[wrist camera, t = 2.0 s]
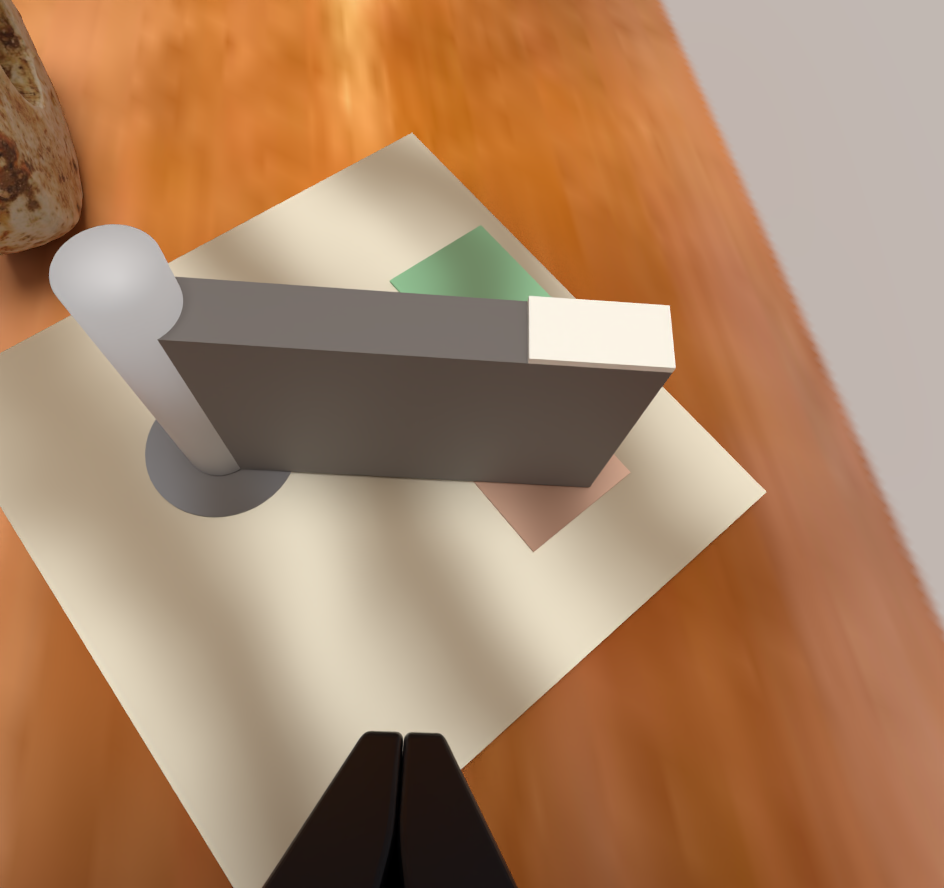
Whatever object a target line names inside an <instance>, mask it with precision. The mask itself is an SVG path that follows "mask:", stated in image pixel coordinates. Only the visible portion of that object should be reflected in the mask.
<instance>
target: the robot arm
mask: <svg viewBox="0 0 944 888" xmlns="http://www.w3.org/2000/svg"><path fill="white" fill-rule="evenodd" d="M262 888H518V887H517V885H516V883H515V881H514V879H513V877H512V875H511V872H510V870H509V868H508V866H507V864H506V862H505V860H504V858H503V856H502V854H501V852H500V850H499V848H498V846H497V843H496V841H495V839H494V837H493V835H492V833H491V831H490V829H489V827H488V825H487V823H486V821H485V819H484V817H483V815H482V812H481V810H480V808H479V806H478V804H477V802H476V800H475V798H474V796H473V794H472V792H471V790H470V788H469V786H468V784H467V781H466V779H465V777H464V775H463V773H462V771H461V769H460V767H459V765H458V763H457V761H456V759H455V757H454V755H453V753H452V750H451V748H450V746H449V744H448V742H447V740H446V739H445V737H444V736H443V735H442V734H440V733H423V732H409V733H407V734H406V735H405V737H404V742H403V736H402V734H401V733H399V732H390V731H367V732H365V733H364V734H363V735H362V736H361V737H360V738H359V740H358V741H357V743H356V745H355V746H354V748H353V749H352V751H351V752H350V754H349V755H348V757H347V758H346V760H345V761H344V763H343V764H342V766H341V767H340V769H339V770H338V772H337V773H336V775H335V777H334V778H333V780H332V781H331V783H330V784H329V786H328V787H327V789H326V790H325V792H324V793H323V795H322V796H321V798H320V799H319V801H318V802H317V804H316V806H315V807H314V809H313V810H312V812H311V813H310V815H309V816H308V818H307V819H306V821H305V822H304V824H303V825H302V827H301V828H300V830H299V831H298V833H297V834H296V836H295V838H294V839H293V841H292V842H291V844H290V845H289V847H288V848H287V850H286V851H285V853H284V854H283V856H282V857H281V859H280V860H279V862H278V863H277V865H276V866H275V868H274V870H273V871H272V873H271V874H270V876H269V877H268V879H267V880H266V882H265V883H264V885H263V886H262Z"/></svg>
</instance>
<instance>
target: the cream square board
mask: <svg viewBox="0 0 944 888" xmlns="http://www.w3.org/2000/svg"><path fill="white" fill-rule="evenodd" d="M168 265H169V267H170V268H171V270H172V272H173V274H174V276H175V277H188V278H202V279H217V280H231V281H245V282H259V283H274V284H288V285H302V286H317V287H331V288H345V289H359V290H374V291H388V292H402V293H417V294H431V295H445V296H459V297H474V298H488V299H502V300H517V301H528V298H529V296H539V297H554V298H568V299H576V298H575V297H574V296H573V295H572V294H571V293H570V292H569V291H568V290H567V289H566V288H565V287H564V286H563V285H562V284H561V283H560V282H559V281H558V280H557V279H556V278H555V277H554V276H553V275H552V274H551V273H550V272H549V271H548V270H547V269H546V268H545V267H544V266H543V265H542V264H541V263H540V262H539V261H538V260H537V259H536V258H535V257H534V256H533V255H532V254H531V253H530V252H529V251H528V250H527V249H526V248H525V247H524V246H523V245H522V244H521V243H520V242H519V241H518V240H517V239H516V238H515V237H514V236H513V235H512V234H511V233H510V232H509V231H508V230H507V229H506V228H505V227H504V226H503V225H502V224H501V222H500V221H499V220H498V219H497V218H496V217H495V216H494V215H493V214H492V213H491V212H490V211H489V210H488V209H487V208H486V207H485V206H484V205H483V204H482V203H481V202H480V201H479V200H478V199H477V198H476V197H475V196H474V195H473V194H472V193H471V192H470V191H469V190H468V189H467V188H466V187H465V186H464V185H463V184H462V183H461V182H460V181H459V180H458V179H457V178H456V177H455V176H454V175H453V174H452V173H451V172H450V171H449V170H448V169H447V168H446V167H445V166H444V165H443V164H442V163H441V162H440V161H439V160H438V159H437V158H436V157H435V156H434V155H433V154H432V153H431V152H430V151H429V150H428V149H427V148H426V146H425V145H424V144H423V143H422V142H421V141H420V140H419V139H418V138H417V137H416V136H415V135H414V134H413V133H411V134H409V135H407V136H405V137H403V138H401V139H399V140H398V141H396V142H394V143H392V144H390V145H388V146H386V147H385V148H383V149H381V150H379V151H377V152H375V153H373V154H371V155H370V156H368V157H366V158H364V159H362V160H360V161H358V162H357V163H355V164H353V165H351V166H349V167H347V168H345V169H343V170H342V171H340V172H338V173H336V174H334V175H332V176H330V177H328V178H327V179H325V180H323V181H321V182H319V183H317V184H315V185H314V186H312V187H310V188H308V189H306V190H304V191H302V192H300V193H299V194H297V195H295V196H293V197H291V198H289V199H287V200H286V201H284V202H282V203H280V204H278V205H276V206H274V207H272V208H271V209H269V210H267V211H265V212H263V213H261V214H259V215H257V216H256V217H254V218H252V219H250V220H248V221H246V222H244V223H243V224H241V225H239V226H237V227H235V228H233V229H231V230H229V231H228V232H226V233H224V234H222V235H220V236H218V237H216V238H215V239H213V240H211V241H209V242H207V243H205V244H203V245H201V246H200V247H198V248H196V249H194V250H192V251H190V252H188V253H186V254H185V255H183V256H181V257H179V258H177V259H175V260H173V261H172V262H170V263H168ZM765 493H766V491H765V490H764V489H763V488H762V487H761V486H760V485H759V484H758V483H757V482H756V481H755V480H754V479H753V478H752V477H751V476H750V475H749V474H748V473H747V472H746V471H745V470H744V469H743V468H742V467H741V466H740V465H739V464H738V463H737V462H736V461H735V460H734V459H733V458H732V457H731V456H730V455H729V454H728V453H727V452H726V451H725V449H724V448H723V447H722V446H721V445H720V444H719V443H718V442H717V441H716V440H715V439H714V438H713V437H712V436H711V435H710V434H709V433H708V432H707V431H706V430H705V429H704V428H703V427H702V426H701V425H700V424H699V423H698V422H697V421H696V420H695V419H694V418H693V417H692V416H691V415H690V414H689V413H688V412H687V411H686V410H685V409H684V408H683V407H682V406H681V405H680V404H679V403H678V402H677V401H676V400H675V399H674V398H673V397H672V396H671V395H670V394H669V393H668V392H667V391H666V390H665V389H664V388H663V387H662V388H661V389H660V390H659V392H658V393H657V395H656V396H655V397H654V399H653V400H652V402H651V403H650V404H649V406H648V407H647V409H646V410H645V411H644V413H643V414H642V415H641V417H640V418H639V420H638V421H637V422H636V424H635V425H634V427H633V428H632V429H631V431H630V432H629V434H628V435H627V436H626V438H625V439H624V440H623V442H622V443H621V445H620V446H619V447H618V449H617V450H616V452H615V453H614V454H613V456H612V457H611V458H610V460H609V461H608V463H607V464H606V465H605V467H604V468H603V470H602V471H601V472H600V474H599V475H598V477H597V478H596V479H595V481H594V482H593V483H592V485H591V486H590V487H574V486H556V485H537V484H518V483H499V482H480V481H462V480H443V479H424V478H405V477H387V476H368V475H349V474H330V473H311V472H293V471H274V470H255V469H239V470H238V471H236V472H233V473H231V474H227V475H221V476H216V475H209V474H206V473H203V472H201V471H200V470H198V469H197V468H196V467H195V466H194V465H193V464H192V463H191V462H190V461H189V459H188V458H187V457H186V456H185V454H184V453H183V452H182V451H181V449H180V448H179V447H178V446H177V445H176V443H175V442H174V441H173V440H172V438H171V437H170V436H169V435H168V433H167V432H166V431H165V430H164V428H163V427H162V426H161V425H160V424H159V422H158V421H157V420H156V419H155V417H154V416H153V415H152V414H151V412H150V411H149V410H148V409H147V408H146V406H145V405H144V404H143V403H142V401H141V400H140V399H139V398H138V396H137V395H136V394H135V393H134V391H133V390H132V389H131V388H130V387H129V385H128V384H127V383H126V382H125V380H124V379H123V378H122V377H121V375H120V374H119V373H118V372H117V371H116V369H115V368H114V367H113V366H112V364H111V363H110V362H109V361H108V359H107V358H106V357H105V356H104V355H103V353H102V352H101V351H100V350H99V348H98V347H97V346H96V345H95V343H94V342H93V341H92V340H91V338H90V337H89V336H88V335H87V334H86V332H85V331H84V330H83V329H82V327H81V326H80V325H79V324H78V322H77V321H76V320H75V319H74V318H73V316H72V315H71V316H69V317H67V318H65V319H63V320H61V321H59V322H58V323H56V324H54V325H52V326H50V327H48V328H46V329H44V330H43V331H41V332H39V333H37V334H35V335H33V336H31V337H30V338H28V339H26V340H24V341H22V342H20V343H18V344H16V345H15V346H13V347H11V348H9V349H7V350H5V351H3V352H1V353H0V507H1V508H2V510H3V512H4V513H5V515H6V517H7V518H8V520H9V521H10V523H11V525H12V526H13V528H14V530H15V531H16V533H17V535H18V536H19V538H20V539H21V541H22V543H23V544H24V546H25V548H26V549H27V551H28V552H29V554H30V556H31V557H32V559H33V561H34V562H35V564H36V566H37V567H38V569H39V570H40V572H41V574H42V575H43V577H44V579H45V580H46V582H47V584H48V585H49V587H50V588H51V590H52V592H53V593H54V595H55V597H56V598H57V600H58V602H59V603H60V605H61V606H62V608H63V610H64V611H65V613H66V615H67V616H68V618H69V620H70V621H71V623H72V624H73V626H74V628H75V629H76V631H77V633H78V634H79V636H80V638H81V639H82V641H83V642H84V644H85V646H86V647H87V649H88V651H89V652H90V654H91V655H92V657H93V659H94V660H95V662H96V664H97V665H98V667H99V669H100V670H101V672H102V673H103V675H104V677H105V678H106V680H107V682H108V683H109V685H110V687H111V688H112V690H113V691H114V693H115V695H116V696H117V698H118V700H119V701H120V703H121V705H122V706H123V708H124V709H125V711H126V713H127V714H128V716H129V718H130V719H131V721H132V723H133V724H134V726H135V727H136V729H137V731H138V732H139V734H140V736H141V737H142V739H143V741H144V742H145V744H146V745H147V747H148V749H149V750H150V752H151V754H152V755H153V757H154V758H155V760H156V762H157V763H158V765H159V767H160V768H161V770H162V772H163V773H164V775H165V776H166V778H167V780H168V781H169V783H170V785H171V786H172V788H173V790H174V791H175V793H176V794H177V796H178V798H179V799H180V801H181V803H182V804H183V806H184V808H185V809H186V811H187V812H188V814H189V816H190V817H191V819H192V821H193V822H194V824H195V826H196V827H197V829H198V830H199V832H200V834H201V835H202V837H203V839H204V840H205V842H206V844H207V845H208V847H209V848H210V850H211V852H212V853H213V855H214V857H215V858H216V860H217V861H218V863H219V865H220V866H221V868H222V870H223V871H224V873H225V875H226V876H227V878H228V879H229V881H230V883H231V884H232V886H233V888H262V886H263V885H264V883H265V882H266V880H267V879H268V877H269V876H270V874H271V873H272V871H273V870H274V868H275V866H276V865H277V863H278V862H279V860H280V859H281V857H282V856H283V854H284V853H285V851H286V850H287V848H288V847H289V845H290V844H291V842H292V841H293V839H294V838H295V836H296V834H297V833H298V831H299V830H300V828H301V827H302V825H303V824H304V822H305V821H306V819H307V818H308V816H309V815H310V813H311V812H312V810H313V809H314V807H315V806H316V804H317V802H318V801H319V799H320V798H321V796H322V795H323V793H324V792H325V790H326V789H327V787H328V786H329V784H330V783H331V781H332V780H333V778H334V777H335V775H336V773H337V772H338V770H339V769H340V767H341V766H342V764H343V763H344V761H345V760H346V758H347V757H348V755H349V754H350V752H351V751H352V749H353V748H354V746H355V745H356V743H357V741H358V740H359V738H360V737H361V736H362V735H363V734H364V733H365V732H367V731H390V732H399V733H401V734H402V736H403V742H404V737H405V735H406V734H407V733H409V732H423V733H440V734H442V735H443V736H444V737H445V739H446V740H447V742H448V744H449V746H450V748H451V750H452V753H453V755H454V757H455V759H456V761H457V763H458V765H459V767H460V769H462V768H463V767H464V766H465V765H466V764H468V763H469V762H470V761H471V760H472V759H473V758H474V757H475V756H476V755H477V754H479V753H480V752H481V751H482V750H483V749H484V748H485V747H486V746H487V745H488V744H490V743H491V742H492V741H493V740H494V739H495V738H496V737H497V736H498V735H499V734H501V733H502V732H503V731H504V730H505V729H506V728H507V727H508V726H509V725H511V724H512V723H513V722H514V721H515V720H516V719H517V718H518V717H519V716H520V715H522V714H523V713H524V712H525V711H526V710H527V709H528V708H529V707H530V706H531V705H533V704H534V703H535V702H536V701H537V700H538V699H539V698H540V697H541V696H542V695H544V694H545V693H546V692H547V691H548V690H549V689H550V688H551V687H552V686H553V685H555V684H556V683H557V682H558V681H559V680H560V679H561V678H562V677H563V676H564V675H566V674H567V673H568V672H569V671H570V670H571V669H572V668H573V667H574V666H575V665H577V664H578V663H579V662H580V661H581V660H582V659H583V658H584V657H585V656H586V655H588V654H589V653H590V652H591V651H592V650H593V649H594V648H595V647H596V646H598V645H599V644H600V643H601V642H602V641H603V640H604V639H605V638H606V637H607V636H609V635H610V634H611V633H612V632H613V631H614V630H615V629H616V628H617V627H618V626H620V625H621V624H622V623H623V622H624V621H625V620H626V619H627V618H628V617H629V616H631V615H632V614H633V613H634V612H635V611H636V610H637V609H638V608H639V607H640V606H642V605H643V604H644V603H645V602H646V601H647V600H648V599H649V598H650V597H651V596H653V595H654V594H655V593H656V592H657V591H658V590H659V589H660V588H661V587H662V586H664V585H665V584H666V583H667V582H668V581H669V580H670V579H671V578H672V577H674V576H675V575H676V574H677V573H678V572H679V571H680V570H681V569H682V568H683V567H685V566H686V565H687V564H688V563H689V562H690V561H691V560H692V559H693V558H694V557H696V556H697V555H698V554H699V553H700V552H701V551H702V550H703V549H704V548H705V547H707V546H708V545H709V544H710V543H711V542H712V541H713V540H714V539H715V538H716V537H718V536H719V535H720V534H721V533H722V532H723V531H724V530H725V529H726V528H727V527H729V526H730V525H731V524H732V523H733V522H734V521H735V520H736V519H737V518H738V517H740V516H741V515H742V514H743V513H744V512H745V511H746V510H747V509H748V508H750V507H751V506H752V505H753V504H754V503H755V502H756V501H757V500H758V499H759V498H761V497H762V496H763V495H764V494H765Z"/></svg>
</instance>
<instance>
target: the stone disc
mask: <svg viewBox="0 0 944 888" xmlns="http://www.w3.org/2000/svg"><path fill="white" fill-rule="evenodd" d="M82 198H83V193H82V187H81V180H80V175H79V167H78V161H77V157H76V153H75V150H74V146H73V143H72V140H71V136H70V133H69V129H68V126H67V123H66V120H65V118H64V115H63V112H62V108H61V105H60V102H59V99H58V96H57V93H56V91H55V89H54V87H53V85H52V82H51V80H50V78H49V76H48V74H47V72H46V70H45V68H44V66H43V63H42V61H41V59H40V57H39V56H38V54H37V51H36V48H35V46H34V44H33V42H32V40H31V37H30V35H29V33H28V31H27V29H26V27H25V25H24V23H23V20H22V17H21V15H20V13H19V12H18V10H17V8H16V7H15V5H14V4H13V2H12V1H11V0H0V255H1V254H11V253H18V252H22V251H26V250H28V249H31V248H35V247H39V246H42V245H45V244H47V243H49V242H50V241H52V240H55V239H57V238H60V237H62V236H63V235H65V234H66V233H68V232H69V231H70V230H71V229H72V228H74V226H75V225H76V224H77V222H78V221H79V219H80V215H81V208H82Z"/></svg>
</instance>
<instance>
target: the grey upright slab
mask: <svg viewBox="0 0 944 888" xmlns="http://www.w3.org/2000/svg"><path fill="white" fill-rule="evenodd" d="M49 281H50V285H51V288H52V290H53V292H54V294H55V295H56V296H57V298H58V299H59V300H60V301H61V303H62V304H63V305H64V306H65V308H66V309H67V310H68V311H69V313H70V314H71V315H72V316H73V318H74V319H75V320H76V321H77V322H78V324H79V325H80V326H81V327H82V329H83V330H84V331H85V332H86V334H87V335H88V336H89V337H90V338H91V340H92V341H93V342H94V343H95V345H96V346H97V347H98V348H99V350H100V351H101V352H102V353H103V355H104V356H105V357H106V358H107V359H108V361H109V362H110V363H111V364H112V366H113V367H114V368H115V369H116V371H117V372H118V373H119V374H120V375H121V377H122V378H123V379H124V380H125V382H126V383H127V384H128V385H129V387H130V388H131V389H132V390H133V391H134V393H135V394H136V395H137V396H138V398H139V399H140V400H141V401H142V403H143V404H144V405H145V406H146V408H147V409H148V410H149V411H150V412H151V414H152V415H153V416H154V417H155V419H156V420H157V421H158V422H159V424H160V425H161V426H162V427H163V428H164V430H165V431H166V432H167V433H168V435H169V436H170V437H171V438H172V440H173V441H174V442H175V443H176V445H177V446H178V447H179V448H180V449H181V451H182V452H183V453H184V454H185V456H186V457H187V458H188V459H189V461H190V462H191V463H192V464H193V465H194V466H195V467H196V468H197V469H198V470H200V471H201V472H203V473H206V474H209V475H216V476H221V475H227V474H231V473H233V472H236V471H238V470H239V469H255V470H274V471H293V472H311V473H330V474H349V475H368V476H387V477H405V478H424V479H443V480H462V481H480V482H499V483H518V484H537V485H556V486H574V487H590V486H591V485H592V483H593V482H594V481H595V479H596V478H597V477H598V475H599V474H600V472H601V471H602V470H603V468H604V467H605V465H606V464H607V463H608V461H609V460H610V458H611V457H612V456H613V454H614V453H615V452H616V450H617V449H618V447H619V446H620V445H621V443H622V442H623V440H624V439H625V438H626V436H627V435H628V434H629V432H630V431H631V429H632V428H633V427H634V425H635V424H636V422H637V421H638V420H639V418H640V417H641V415H642V414H643V413H644V411H645V410H646V409H647V407H648V406H649V404H650V403H651V402H652V400H653V399H654V397H655V396H656V395H657V393H658V392H659V390H660V389H661V388H662V386H663V385H664V384H665V382H666V381H667V379H668V378H669V377H670V375H671V374H672V372H673V371H674V370H675V368H676V366H675V356H674V346H673V335H672V325H671V315H670V306H667V305H653V304H639V303H625V302H610V301H596V300H582V299H568V298H554V297H539V296H529V298H528V301H517V300H502V299H488V298H474V297H459V296H445V295H431V294H417V293H402V292H388V291H374V290H359V289H345V288H331V287H317V286H302V285H288V284H274V283H259V282H245V281H231V280H217V279H202V278H188V277H175V276H174V274H173V272H172V270H171V268H170V267H169V265H168V263H167V261H166V259H165V257H164V255H163V253H162V251H161V249H160V247H159V246H158V244H157V243H156V241H155V240H154V239H153V238H152V237H151V236H149V235H148V234H147V233H145V232H143V231H141V230H139V229H137V228H134V227H130V226H126V225H115V224H111V225H102V226H97V227H93V228H90V229H87V230H84V231H82V232H80V233H78V234H76V235H75V236H73V237H72V238H70V239H69V240H68V241H67V242H65V243H64V244H63V245H62V246H61V247H60V249H59V250H58V251H57V252H56V254H55V256H54V258H53V260H52V262H51V265H50V269H49Z"/></svg>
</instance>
